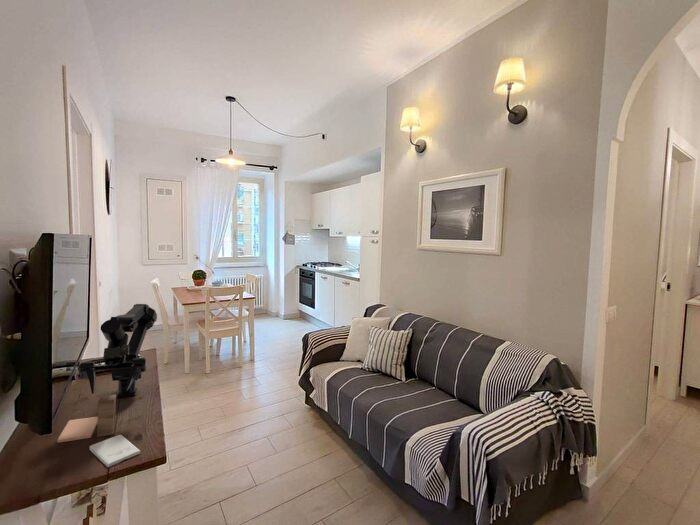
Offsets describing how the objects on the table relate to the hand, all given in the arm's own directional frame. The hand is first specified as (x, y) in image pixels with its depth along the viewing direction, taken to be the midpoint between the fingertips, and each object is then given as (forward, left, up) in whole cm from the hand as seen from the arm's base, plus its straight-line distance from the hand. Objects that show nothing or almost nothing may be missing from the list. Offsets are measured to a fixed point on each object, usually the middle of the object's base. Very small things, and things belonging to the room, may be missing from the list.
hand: (109, 391), depth 110 cm
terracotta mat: (+1, -7, -11) cm, 13 cm away
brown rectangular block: (+5, 0, -11) cm, 12 cm away
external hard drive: (+17, +4, -12) cm, 21 cm away
